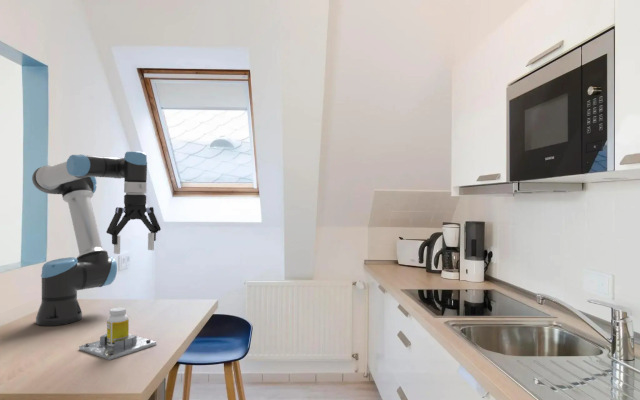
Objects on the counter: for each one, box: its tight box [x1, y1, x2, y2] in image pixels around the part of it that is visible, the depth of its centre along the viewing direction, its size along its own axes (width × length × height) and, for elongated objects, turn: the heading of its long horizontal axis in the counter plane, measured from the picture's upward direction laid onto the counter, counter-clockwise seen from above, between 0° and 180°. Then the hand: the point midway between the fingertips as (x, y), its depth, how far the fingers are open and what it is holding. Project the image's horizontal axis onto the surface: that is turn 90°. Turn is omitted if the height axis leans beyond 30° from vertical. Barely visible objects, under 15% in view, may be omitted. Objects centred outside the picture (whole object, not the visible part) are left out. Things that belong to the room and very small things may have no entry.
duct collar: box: [78, 333, 157, 361], centre depth 137 cm, size 16×16×4 cm
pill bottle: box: [106, 307, 130, 347], centre depth 137 cm, size 6×6×11 cm
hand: (134, 251), depth 159 cm, fingers open, 13 cm apart
